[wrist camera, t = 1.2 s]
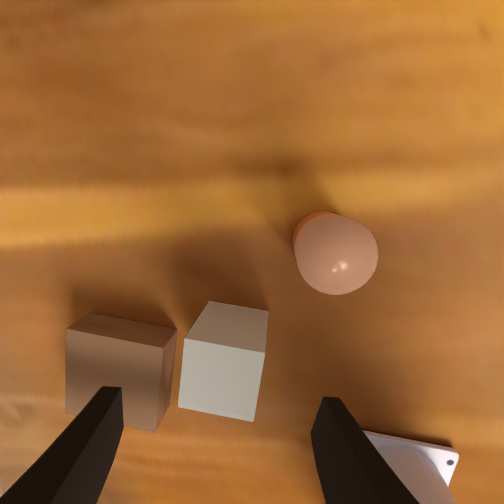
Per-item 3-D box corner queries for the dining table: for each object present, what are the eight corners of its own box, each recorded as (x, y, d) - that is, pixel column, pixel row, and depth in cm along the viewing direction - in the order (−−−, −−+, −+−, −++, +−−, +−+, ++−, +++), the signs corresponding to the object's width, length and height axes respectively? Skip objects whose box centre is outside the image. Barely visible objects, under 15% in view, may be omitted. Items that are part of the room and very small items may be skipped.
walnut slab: (171, 402, 23) (155, 432, 20) (91, 385, 23) (65, 412, 20) (179, 327, 21) (163, 348, 19) (94, 310, 22) (66, 328, 19)
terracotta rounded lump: (344, 273, 19) (367, 300, 14) (287, 263, 19) (290, 287, 14) (357, 216, 18) (387, 224, 13) (297, 206, 18) (304, 211, 13)
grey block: (259, 364, 21) (253, 422, 16) (203, 353, 21) (177, 406, 16) (268, 310, 20) (265, 353, 15) (209, 300, 20) (184, 338, 15)
